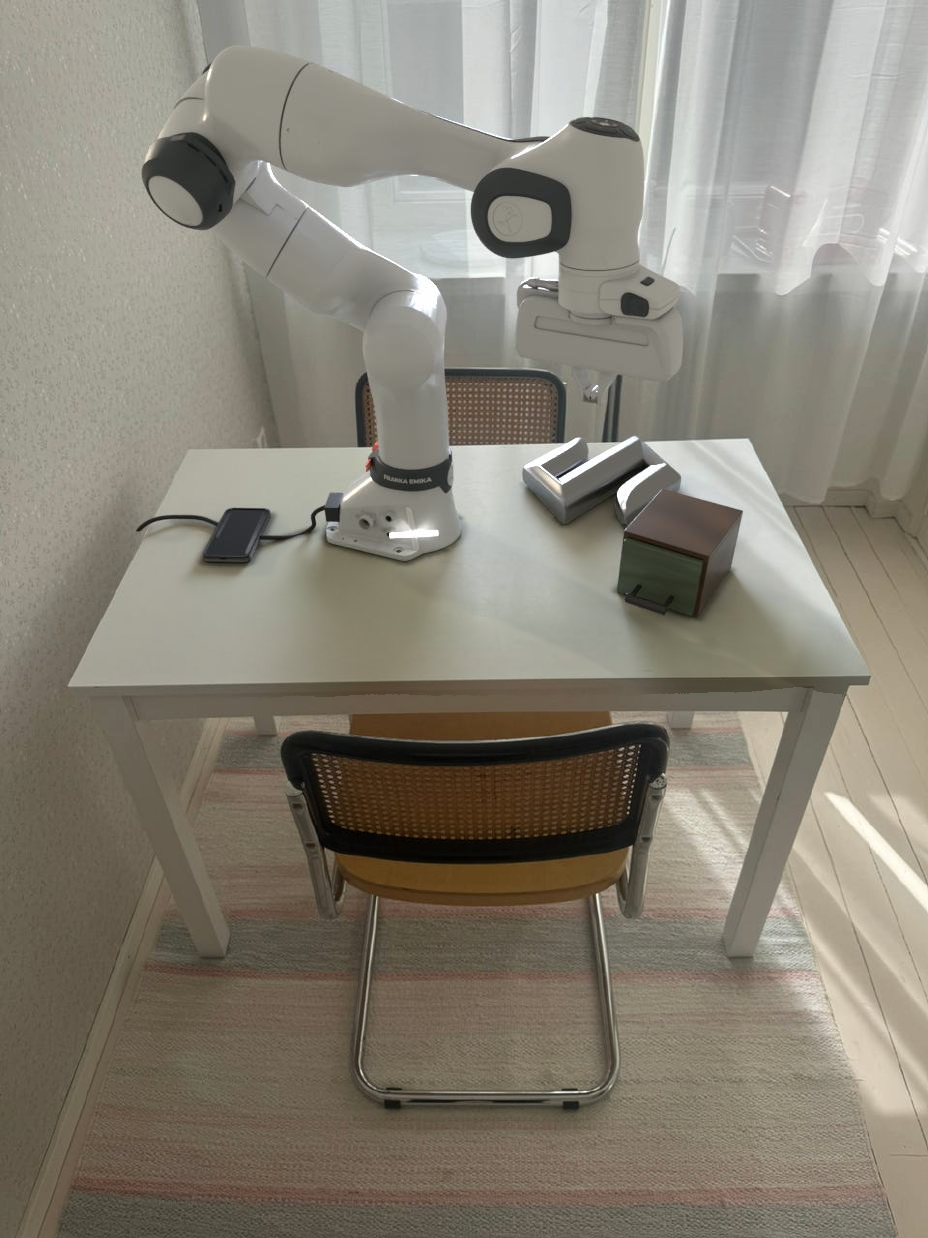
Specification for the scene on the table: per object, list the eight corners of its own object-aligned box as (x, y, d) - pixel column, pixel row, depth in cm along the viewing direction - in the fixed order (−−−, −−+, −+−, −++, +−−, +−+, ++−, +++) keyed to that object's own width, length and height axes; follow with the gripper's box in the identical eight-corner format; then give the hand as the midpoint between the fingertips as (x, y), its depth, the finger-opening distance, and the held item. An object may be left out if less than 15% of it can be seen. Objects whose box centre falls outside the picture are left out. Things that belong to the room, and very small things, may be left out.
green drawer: (680, 631, 116) (689, 579, 111) (605, 605, 121) (611, 554, 116) (722, 571, 127) (733, 521, 122) (652, 549, 132) (659, 501, 127)
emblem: (533, 421, 159) (683, 431, 155) (532, 446, 163) (679, 457, 158) (510, 493, 138) (683, 508, 133) (510, 521, 141) (678, 537, 137)
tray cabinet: (697, 617, 120) (709, 556, 113) (616, 590, 125) (623, 530, 119) (730, 569, 129) (743, 510, 122) (654, 546, 135) (662, 488, 128)
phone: (271, 508, 144) (248, 556, 132) (272, 513, 145) (249, 562, 133) (226, 507, 144) (199, 555, 133) (227, 513, 145) (201, 561, 133)
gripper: (503, 283, 96) (506, 396, 105) (672, 306, 87) (661, 428, 96) (530, 267, 100) (531, 378, 109) (694, 287, 91) (681, 406, 100)
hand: (593, 401), depth 102 cm, fingers closed
